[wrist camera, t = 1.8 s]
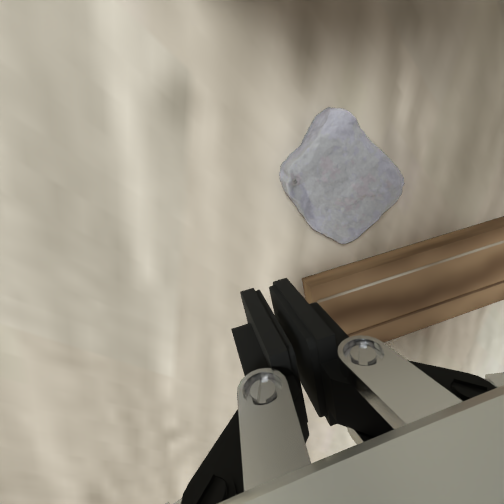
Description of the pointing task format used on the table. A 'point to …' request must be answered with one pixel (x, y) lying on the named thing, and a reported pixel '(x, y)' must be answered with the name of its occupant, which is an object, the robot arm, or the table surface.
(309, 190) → the stone block
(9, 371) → the table surface
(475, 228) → the walnut board
